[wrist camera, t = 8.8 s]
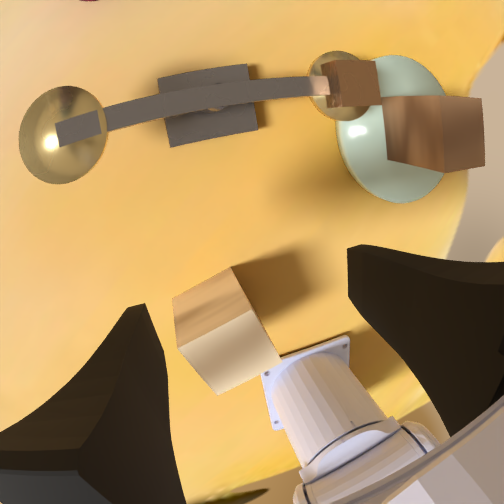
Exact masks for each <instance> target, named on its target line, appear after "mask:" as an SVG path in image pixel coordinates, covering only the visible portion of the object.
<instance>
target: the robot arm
mask: <svg viewBox="0 0 504 504" xmlns="http://www.w3.org/2000/svg"><path fill="white" fill-rule="evenodd" d="M347 262H348V297H349V299H350V300H351V301H352V303H353V304H354V306H355V307H356V309H357V310H358V311H359V313H360V314H361V315H362V317H363V318H364V319H365V320H366V321H367V322H368V323H369V324H370V325H371V326H372V327H373V328H374V329H375V330H376V331H377V332H378V333H379V334H380V335H381V336H382V337H383V338H384V340H385V341H386V342H387V343H388V344H389V345H390V346H391V347H392V348H393V349H394V350H395V351H396V352H397V353H398V354H399V355H400V356H401V358H402V359H403V360H404V361H405V363H406V364H407V365H408V367H409V368H410V369H411V371H412V372H413V373H414V375H415V376H416V378H417V379H418V381H419V382H420V384H421V385H422V387H423V388H424V390H425V391H426V393H427V394H428V396H429V398H430V399H431V401H432V403H433V404H434V406H435V408H436V410H437V411H438V413H439V415H440V417H441V419H442V421H443V423H444V425H445V427H446V429H447V431H448V433H449V435H450V438H449V439H448V440H446V441H445V442H443V443H442V444H440V443H439V442H438V441H437V439H436V438H435V437H434V436H433V434H432V433H431V432H430V431H429V430H428V429H427V428H426V427H424V426H423V425H422V424H420V423H418V422H411V421H405V422H404V423H402V424H401V425H399V423H398V422H397V421H396V420H395V418H394V417H393V416H391V417H389V418H387V416H386V415H385V414H384V413H383V411H382V410H381V409H380V407H379V406H378V405H377V404H376V402H375V401H374V400H373V398H372V397H371V396H370V394H369V393H368V392H367V391H366V389H365V388H364V387H363V385H362V384H361V383H360V382H359V380H358V379H357V378H356V376H355V375H354V374H353V372H352V371H351V370H350V369H349V358H350V338H349V337H348V336H347V335H343V336H340V337H337V338H335V339H332V340H329V341H327V342H324V343H321V344H318V345H315V346H313V347H310V348H307V349H304V350H301V351H298V352H295V353H292V354H289V355H286V356H283V357H280V358H281V360H282V363H280V364H278V365H276V366H275V367H273V368H271V369H269V370H267V371H268V372H267V371H265V372H267V373H265V372H263V373H261V374H260V375H261V379H262V384H263V389H264V393H265V398H266V402H267V407H268V411H269V416H270V420H271V425H272V428H273V430H280V429H283V428H284V430H285V432H286V434H287V436H288V438H289V441H290V443H291V445H292V447H293V449H294V451H295V454H296V456H297V458H298V460H299V462H300V464H301V466H302V468H303V469H301V470H300V471H299V473H300V476H301V478H302V480H303V483H301V484H299V485H297V486H296V488H295V493H294V495H293V504H504V262H462V261H453V260H444V259H437V258H432V257H426V256H421V255H416V254H411V253H406V252H402V251H397V250H393V249H388V248H383V247H378V246H372V245H362V244H361V245H358V246H354V247H351V248H347ZM344 344H345V345H344ZM343 345H344V346H343ZM0 502H1V503H2V504H186V500H185V497H184V493H183V490H182V486H181V482H180V478H179V474H178V470H177V466H176V461H175V456H174V451H173V446H172V441H171V433H170V419H169V396H168V374H167V368H166V362H165V356H164V350H163V348H162V346H161V343H160V341H159V338H158V336H157V333H156V331H155V328H154V326H153V323H152V320H151V318H150V315H149V313H148V310H147V307H146V304H145V303H144V304H140V305H136V306H132V307H128V308H127V309H126V310H125V312H124V313H123V314H122V316H121V317H120V318H119V320H118V321H117V323H116V324H115V326H114V327H113V328H112V330H111V331H110V333H109V334H108V335H107V337H106V338H105V340H104V341H103V342H102V344H101V345H100V346H99V347H98V349H97V350H96V351H95V353H94V354H93V355H92V356H91V358H90V359H89V360H88V361H87V363H86V364H85V365H84V366H83V367H82V368H81V369H80V371H79V372H78V373H77V374H76V375H75V376H74V377H73V378H72V379H71V380H70V381H69V382H68V383H67V384H66V385H65V386H64V387H62V388H61V389H60V390H59V391H58V392H57V393H56V394H54V395H53V396H52V397H51V398H50V399H49V400H48V401H46V402H45V403H44V404H43V405H41V406H40V407H39V408H37V409H36V410H35V411H33V412H32V413H31V414H29V415H28V416H26V417H25V418H23V419H22V420H20V421H19V422H17V423H15V424H14V425H12V426H10V427H9V428H7V429H5V430H3V431H2V432H0Z"/></svg>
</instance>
